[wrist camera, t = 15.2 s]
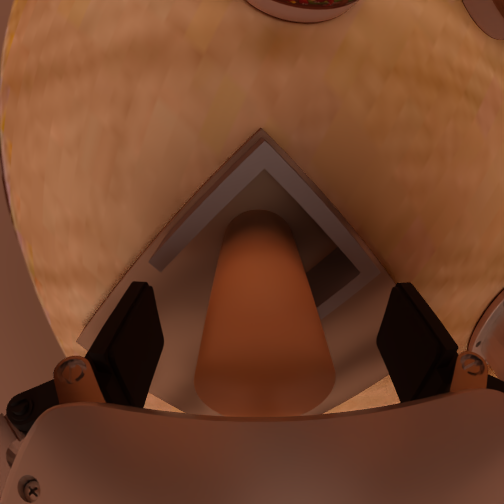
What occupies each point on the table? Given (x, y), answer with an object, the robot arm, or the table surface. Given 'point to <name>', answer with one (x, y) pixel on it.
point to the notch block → (266, 157)
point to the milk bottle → (303, 9)
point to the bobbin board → (201, 281)
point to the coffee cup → (488, 16)
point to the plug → (262, 326)
